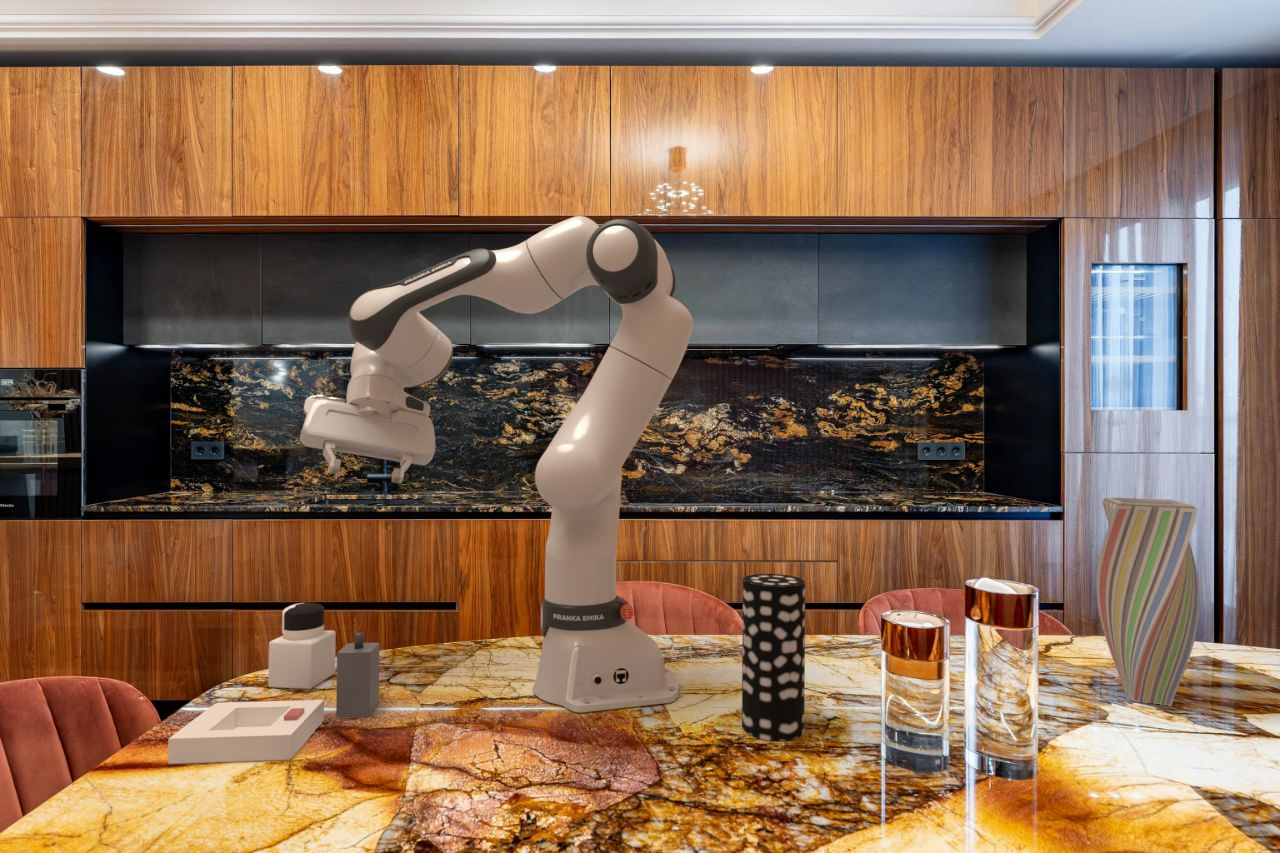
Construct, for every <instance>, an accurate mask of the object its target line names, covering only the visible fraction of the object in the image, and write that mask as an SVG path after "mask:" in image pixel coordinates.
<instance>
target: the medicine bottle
mask: <svg viewBox="0 0 1280 853" xmlns="http://www.w3.org/2000/svg"><path fill="white" fill-rule="evenodd" d="M281 612H282V613H281V615H282V617H281V618H282V619H281V633H282V634H283V635H281V636H279V637H276V638H274V639H272V640H271V641H269V642H268V687H269V688H277V689H278V688H280V689H282V688H283V689H302V690H303V689H304V690H305V689H306V690H311V689H314V688H315V687H316V686H318V685H319V684H321V683H322V682H324V681H326V680H327V679H329V678H330V677H331V676H333V675H335V673H336V640H337V638H336V636H337V634H336V630H330V629H329V630H326V629H325V607H324V606H323V605H322V604H320V603H317V602H300V603H294V604H291V605H289V606H287V607H285V608H284V609H283V610H282V611H281Z"/></svg>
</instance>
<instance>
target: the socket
mask: <svg viewBox="0 0 1280 853" xmlns="http://www.w3.org/2000/svg"><path fill="white" fill-rule="evenodd" d="M324 705H325V700H324V699H305V700H303V699H301V700H300V699H299V700H269V701H268V700H267V701H233V702H232V701H231V702H230V701H229V702H228V701H227V702H225V701H224V702H215V703H214V704H213V705H211V706H210V707H209V708H207V709H206V710H205V711H203V712H202V713H200V714H199V715H198V716H196V717H195V718H194V719H193V720H191V721H190V722H189V723H187V724H186V725H185V726H184V727H182V728H180V729H179V730H178V731H176V732H175V733H174V734H172V736H170V737H169V738H168V739H167V740H168V742H167V743H168V746H167V748H168V750H167V751H168V752H167V763H168V764H167V765H175V764H176V765H179V764H203V763H204V764H206V763H207V764H208V763H212V764H213V763H233V762H235V763H237V762H258V761H259V762H263V761H264V762H265V761H289V760H292V759H293V757H295V756H296V754H297V753H299V751H300V750H301V748H302V747H303V746H304V745H305V744H306V743H307V742H308V740H309V739H310V738H311V737H312V736H313V735H314V733H315V732H316V731H317V730H318V729H317V728H318V727H319V726H322V724H323V723H324V722H325V721H324V718H325V717H324V716H325V713H324V712H325V709H324V708H325V707H324ZM323 721H324V722H323ZM322 722H323V723H322ZM319 728H320V727H319ZM316 729H317V730H316ZM315 730H316V731H315ZM312 734H313V735H312ZM311 735H312V736H311ZM310 736H311V737H310Z"/></svg>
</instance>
